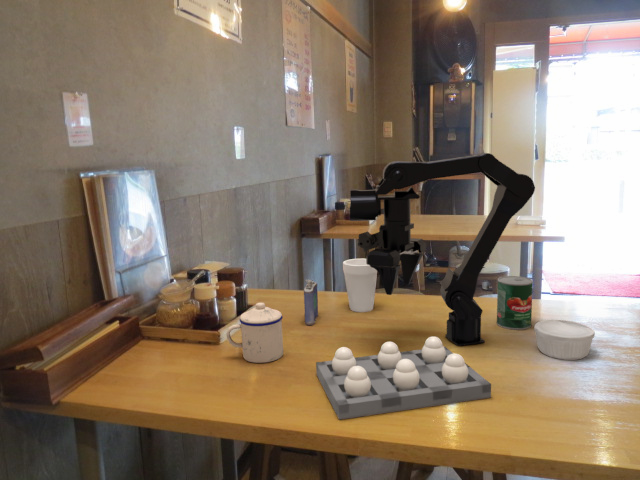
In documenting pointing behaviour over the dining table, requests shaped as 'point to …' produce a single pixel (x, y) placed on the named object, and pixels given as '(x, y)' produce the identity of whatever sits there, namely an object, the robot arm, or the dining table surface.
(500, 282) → the canned tomato
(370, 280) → the foam cup
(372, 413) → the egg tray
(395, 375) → the cream game piece
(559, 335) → the ramekin
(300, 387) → the dining table surface
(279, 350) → the teacup with lid
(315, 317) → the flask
